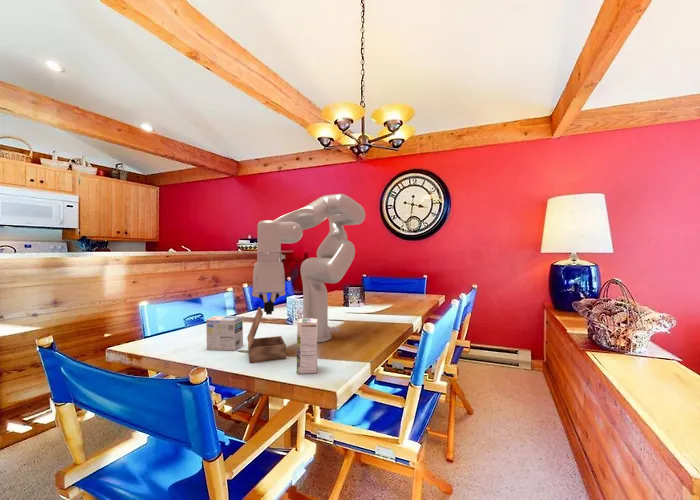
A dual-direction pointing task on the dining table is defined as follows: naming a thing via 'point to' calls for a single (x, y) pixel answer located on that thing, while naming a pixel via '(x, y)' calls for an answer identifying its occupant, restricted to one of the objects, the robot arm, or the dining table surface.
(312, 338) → the syrup box
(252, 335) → the lid
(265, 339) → the box
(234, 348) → the light bulb box
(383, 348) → the dining table surface
